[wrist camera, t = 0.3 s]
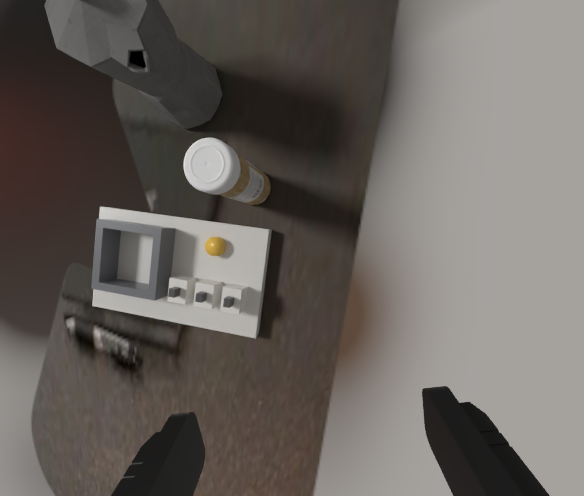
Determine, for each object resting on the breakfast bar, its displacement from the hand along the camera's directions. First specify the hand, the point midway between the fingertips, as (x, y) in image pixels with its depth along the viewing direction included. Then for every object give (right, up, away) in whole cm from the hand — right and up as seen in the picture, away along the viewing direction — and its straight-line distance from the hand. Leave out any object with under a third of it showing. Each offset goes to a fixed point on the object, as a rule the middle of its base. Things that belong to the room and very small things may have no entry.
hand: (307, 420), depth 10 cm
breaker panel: (-16, +3, +29) cm, 33 cm away
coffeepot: (-15, +27, +28) cm, 42 cm away
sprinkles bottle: (-5, +14, +27) cm, 31 cm away
